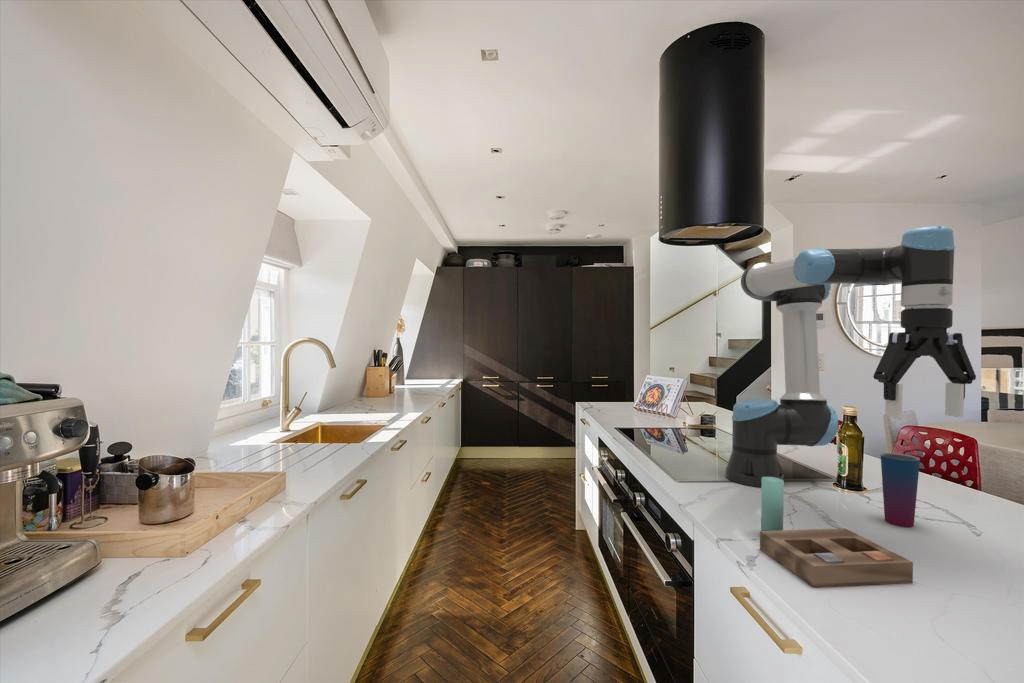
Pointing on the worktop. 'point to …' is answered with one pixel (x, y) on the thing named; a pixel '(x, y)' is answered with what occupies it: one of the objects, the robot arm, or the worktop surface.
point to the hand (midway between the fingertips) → (924, 417)
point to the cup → (899, 488)
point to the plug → (772, 504)
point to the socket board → (835, 557)
